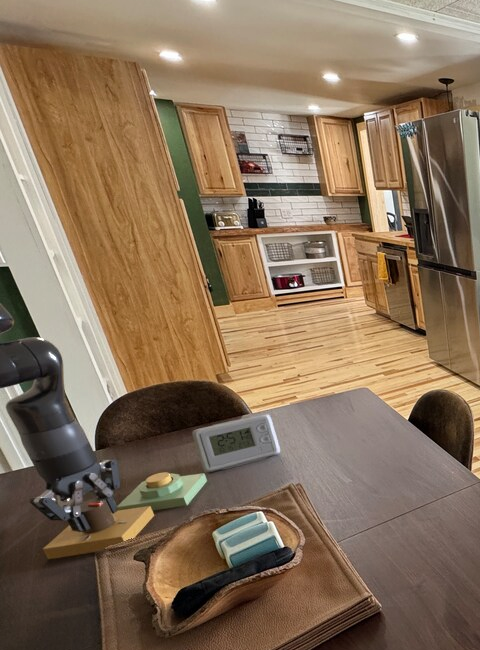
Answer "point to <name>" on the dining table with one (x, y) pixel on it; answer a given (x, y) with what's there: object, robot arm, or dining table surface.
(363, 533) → the dining table surface
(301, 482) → the dining table surface
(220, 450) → the digital clock
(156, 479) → the bell button
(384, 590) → the dining table surface
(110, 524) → the lock turn
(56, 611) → the dining table surface
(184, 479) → the block
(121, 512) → the lock plate
